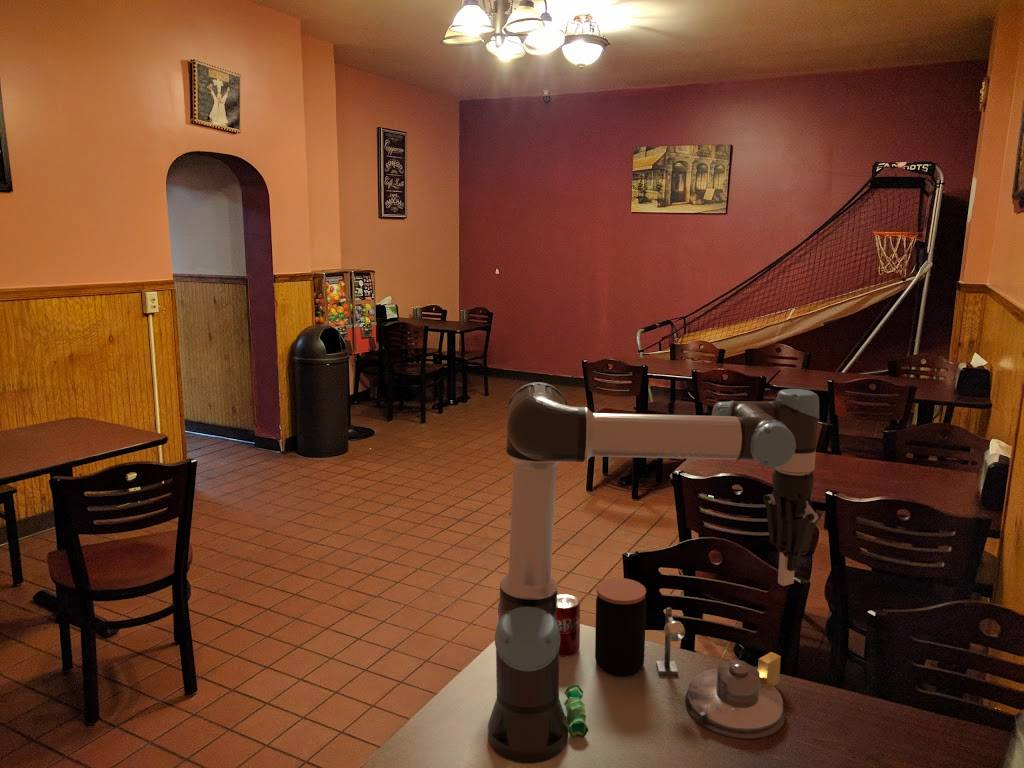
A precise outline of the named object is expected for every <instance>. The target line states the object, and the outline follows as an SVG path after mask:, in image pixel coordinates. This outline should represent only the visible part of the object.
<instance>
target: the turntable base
mask: <svg viewBox="0 0 1024 768" xmlns="http://www.w3.org/2000/svg"><path fill="white" fill-rule="evenodd" d="M684 704H685V709H686V711H687V713H688V714H689V716H690V717H691V718H692V719H693V720H694V721H695V722H696V723H697V724H698V725H700V726H701V727H702V728H704V729H706V730H708V731H709V732H711V733H714V734H716V735H719V736H720V737H721V736H723V737H725V738H728V739H729V738H730V739H734V740H741V741H742V740H744V741H753V740H761V739H765V738H768V737H772V736H773V735H775V734H777V733H779V732H780V730H781V729H782V728H783V726H784V724H785V719H786V713H785V709H784V707H783V712H782V718H781V720H780V722H779V723H778V724H777V725H776V726H775V727H773V728H771V729H769V730H767V731H763V732H759V733H736V732H731V731H727V730H723V729H720V728H718V727H715V726H713V725H711V724H709V723H707V722H705V723H703V724H701V723H700V722H699V716H698V715H696V714H695V712H694V711H693V710H692V708H691V707H690V705H689V702H688V690H687V692H686V693H685V697H684Z"/></svg>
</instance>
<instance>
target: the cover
mask: <svg viewBox="0 0 1024 768" xmlns="http://www.w3.org/2000/svg"><path fill="white" fill-rule="evenodd" d="M716 669H717V689H716V693H717V696H718V698H719V699H720V700H721V701H723V702H724V703H726V704H728V705H731V706H734V707H739V708H747V707H752V706H754V705H755V704H757V702H758V699H759V684H760V674H759V672H758V668H756V667H755V666H753V665H751V664H749V663H747V662H746V661H745V660H741V659H734V660H728V661H724V662H721V663H720V664H719V665H718V666H717V668H716Z"/></svg>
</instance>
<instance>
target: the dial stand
mask: <svg viewBox="0 0 1024 768" xmlns="http://www.w3.org/2000/svg"><path fill="white" fill-rule="evenodd" d="M672 612H673V609H672V607H670V606H668V607H667V606H666V608H665V625H664V627H663V628H664V629H663V630H664V634H665V635H664V636H665V637H664V655H663V656H664V659H663V660H655V666H656V669H657V673H658V676H675V677H676V676H679V670H678V667H677V664H676V661H675V660H671V648H672V647H671V645H672V644H671V643H672V642H678V641H679V642H680V641H681V640H683V639H684V637H685V635H686V629H685V627H684V624H682V622H681V621H679V620H674V618H673V613H672Z"/></svg>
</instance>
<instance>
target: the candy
mask: <svg viewBox="0 0 1024 768" xmlns="http://www.w3.org/2000/svg"><path fill="white" fill-rule="evenodd" d="M563 694H564V695H565V696H566V698H567V702H566V704H565V708H566V718H567V719H568V720H569V722H570V724H568V734H569V735H570V736H571V738H574V737H575V736H578V735H579V736H580V737H581V738H582V739H585V737H586V736H587V733H588V732H589V731H590V729H589V728H588V726H587V724H586V723H585V720H586V718H587V712H586V706H585V704H584V702H583V701H582V699H583V697H584V691H583V689H582V688H581V686H580V685H579V684H574V685H573V684H572V685H568V687H567V688H566V690H565V691H564V693H563Z"/></svg>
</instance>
